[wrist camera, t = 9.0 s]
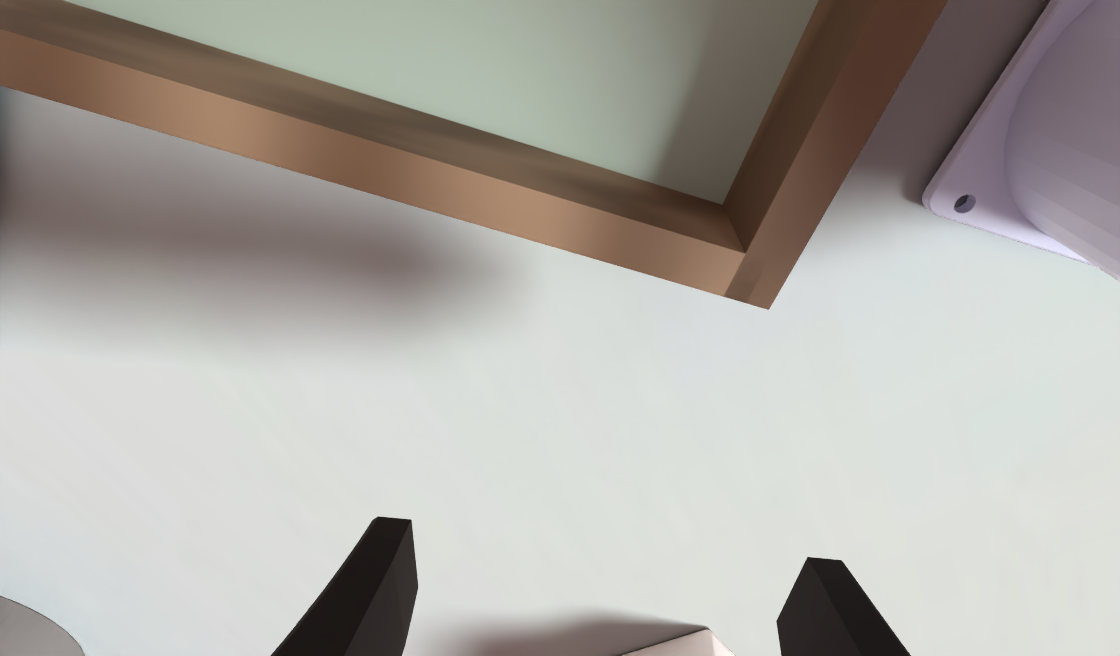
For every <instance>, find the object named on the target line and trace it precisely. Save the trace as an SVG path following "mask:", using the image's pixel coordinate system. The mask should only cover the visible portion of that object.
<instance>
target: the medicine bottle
mask: <svg viewBox="0 0 1120 656" xmlns="http://www.w3.org/2000/svg"><path fill="white" fill-rule="evenodd" d="M621 656H735V655H734V654H733V653H732V652H731V651H730V650H729V649H728V648H727V647H726V646H725V645H724V644H723V643H722V641H721V640H720V639H719V638H718V637H717V636H716V635H715V634H714V633H713V632H711V631H710V630H707V629H705V630H702V631H698V632H695V633H692V634H689V635H686V636H682V637H679V638H676V639H673V640H669V641H666V642H663V643H660V644H656V645H653V646H650V647H647V648H643V649H640V650H637V651H634V652H631V653H627V654H624V655H621Z"/></svg>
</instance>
